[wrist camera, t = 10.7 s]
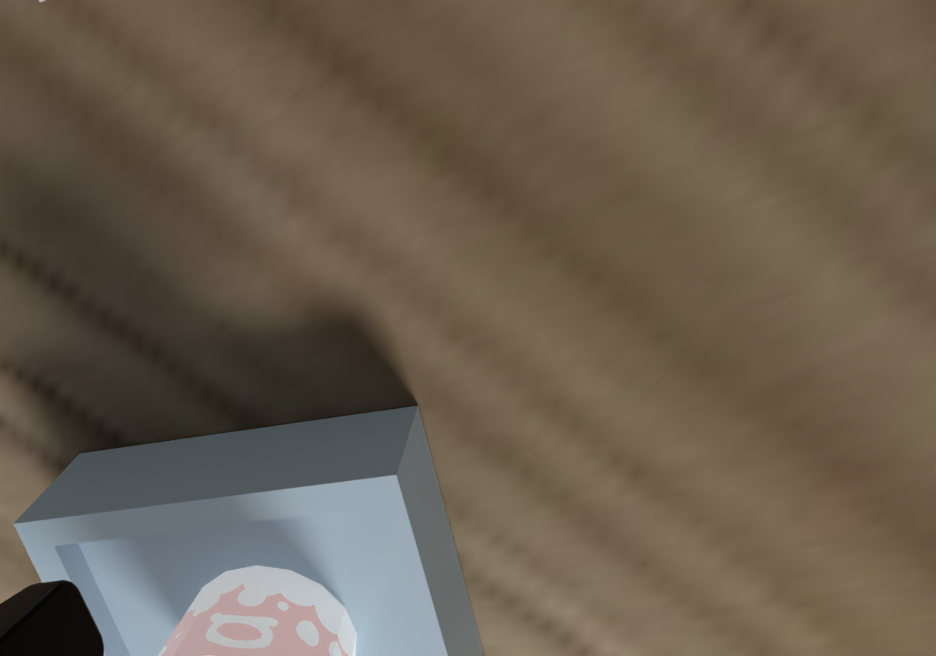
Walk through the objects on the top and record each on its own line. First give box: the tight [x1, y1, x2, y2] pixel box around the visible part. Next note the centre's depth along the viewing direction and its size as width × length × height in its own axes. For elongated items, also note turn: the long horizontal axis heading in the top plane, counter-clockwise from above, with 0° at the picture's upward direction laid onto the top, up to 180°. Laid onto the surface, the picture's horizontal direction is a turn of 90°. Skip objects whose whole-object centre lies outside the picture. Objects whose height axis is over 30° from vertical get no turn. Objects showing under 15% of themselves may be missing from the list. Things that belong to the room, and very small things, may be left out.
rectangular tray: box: [14, 406, 484, 656], centre depth 24 cm, size 10×10×3 cm
